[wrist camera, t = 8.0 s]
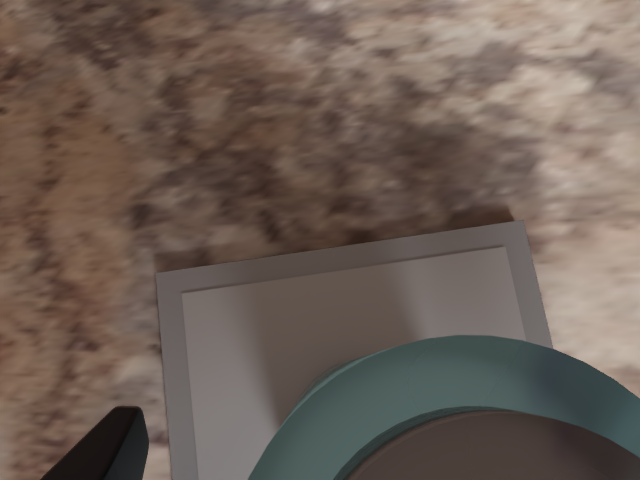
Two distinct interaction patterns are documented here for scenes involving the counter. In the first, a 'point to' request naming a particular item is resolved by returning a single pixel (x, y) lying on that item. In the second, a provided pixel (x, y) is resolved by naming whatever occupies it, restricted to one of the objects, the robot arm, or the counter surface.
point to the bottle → (459, 417)
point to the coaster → (322, 328)
